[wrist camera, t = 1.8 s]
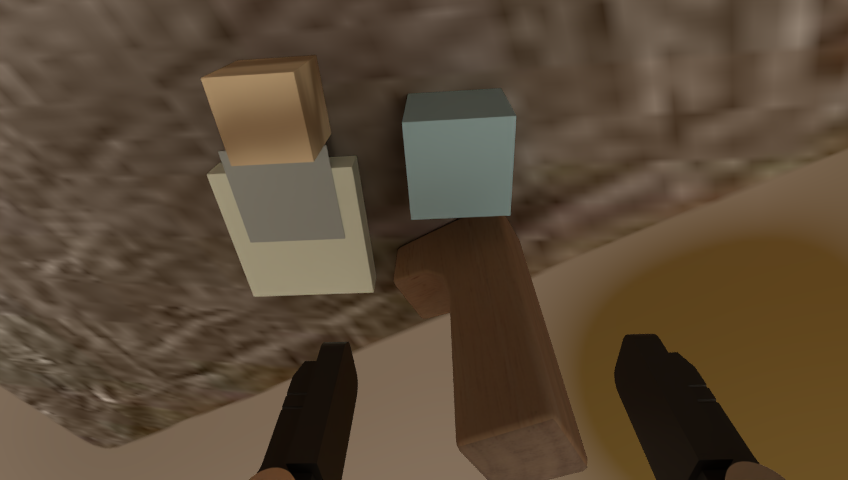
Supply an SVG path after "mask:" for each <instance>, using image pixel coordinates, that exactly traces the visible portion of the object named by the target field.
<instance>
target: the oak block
mask: <svg viewBox="0 0 848 480" xmlns="http://www.w3.org/2000/svg"><path fill="white" fill-rule="evenodd" d="M201 81H202V84H203V87H204V89H205V92H206V95H207V98H208V101H209V104H210V107H211V110H212V112H213V115H214V118H215V121H216V124H217V127H218V130H219V133H220V135H221V138H222V141H223V144H224V147H225V150H226V153H227V155H228V158H229V161H230V164H231V166H245V165H264V164H283V163H303V162H314V161H315V159H316V158H317V156H318V154H319V153H320V151H321V150H322V148H323V146H324V145H325V143H326V141H327V140H328V138H329V137H330V135H331V129H330V124H329V119H328V113H327V108H326V103H325V98H324V93H323V88H322V82H321V77H320V72H319V67H318V62H317V56H316V55H310V56H295V57H280V58H264V59H249V60H237V61H235V62H233V63H231V64H229V65H227V66H225V67H223V68H221V69H218V70H216V71H214V72H212V73H210V74H208V75H206V76H204V77H202V78H201Z"/></svg>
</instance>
